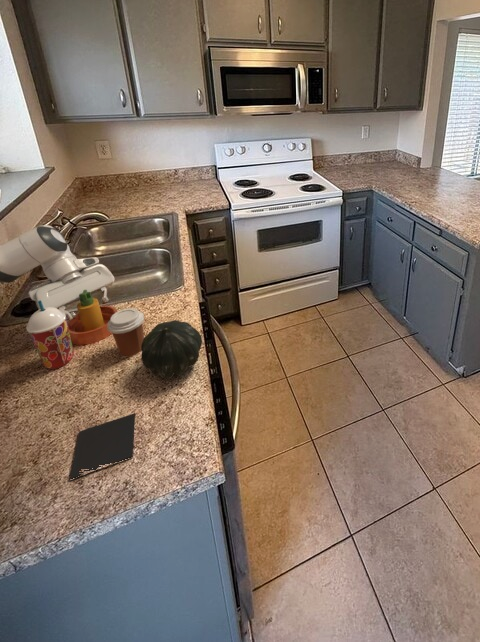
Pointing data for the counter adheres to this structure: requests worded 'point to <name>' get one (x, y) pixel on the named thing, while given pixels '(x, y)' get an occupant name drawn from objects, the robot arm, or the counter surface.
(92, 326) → the pineapple
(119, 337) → the coffee cup
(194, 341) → the squash
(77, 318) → the bowl
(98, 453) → the mat
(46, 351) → the smoothie
